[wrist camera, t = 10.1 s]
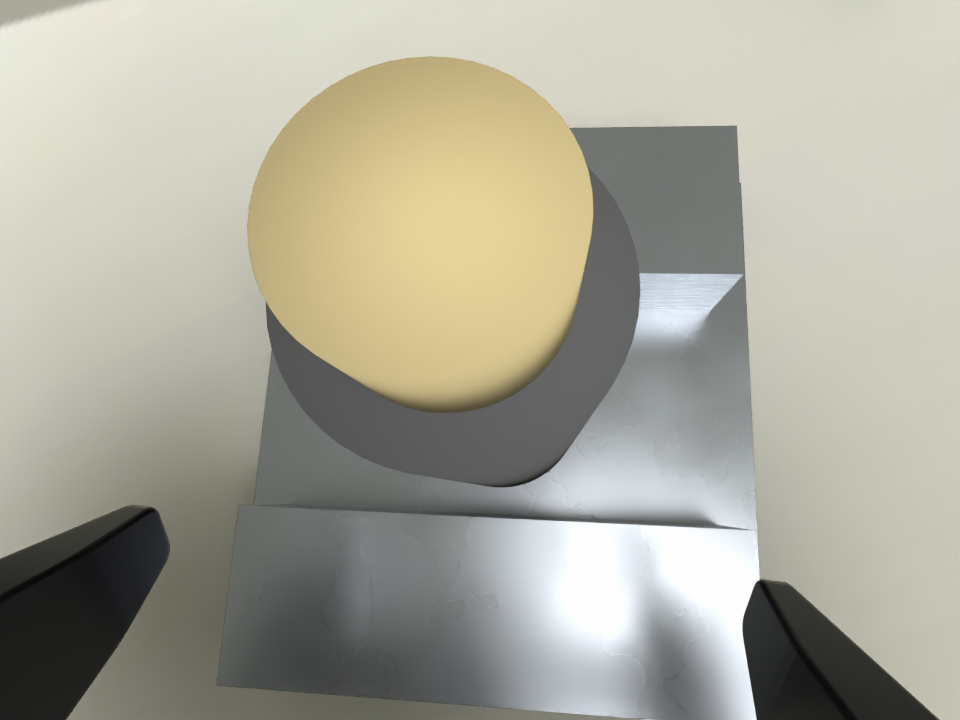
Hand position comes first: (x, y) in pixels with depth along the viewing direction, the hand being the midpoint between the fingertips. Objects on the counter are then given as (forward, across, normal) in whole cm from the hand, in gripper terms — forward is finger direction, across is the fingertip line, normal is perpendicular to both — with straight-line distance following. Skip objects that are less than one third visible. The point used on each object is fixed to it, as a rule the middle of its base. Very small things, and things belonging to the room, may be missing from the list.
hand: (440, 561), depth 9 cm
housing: (+9, 0, -4) cm, 10 cm away
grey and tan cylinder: (+8, 0, -3) cm, 9 cm away
